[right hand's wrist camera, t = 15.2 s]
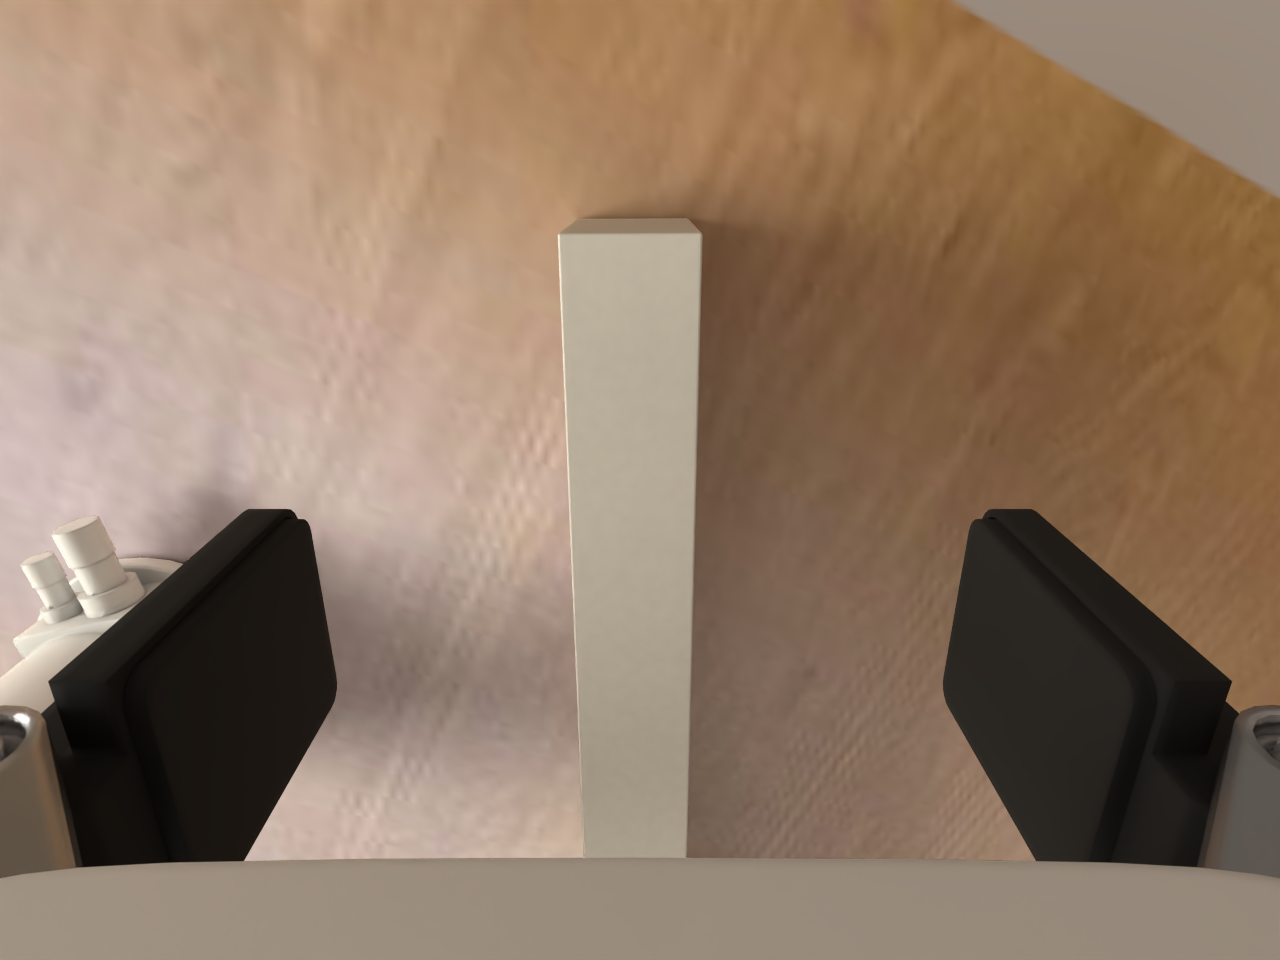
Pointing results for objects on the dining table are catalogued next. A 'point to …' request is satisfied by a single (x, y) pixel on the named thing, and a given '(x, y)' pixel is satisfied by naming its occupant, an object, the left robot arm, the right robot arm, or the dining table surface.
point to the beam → (632, 521)
